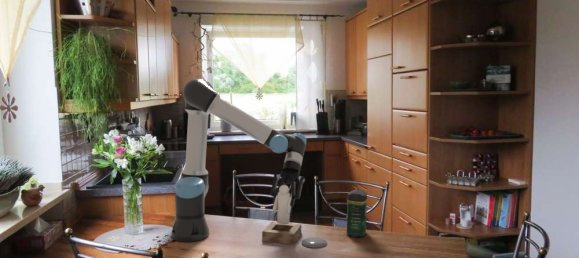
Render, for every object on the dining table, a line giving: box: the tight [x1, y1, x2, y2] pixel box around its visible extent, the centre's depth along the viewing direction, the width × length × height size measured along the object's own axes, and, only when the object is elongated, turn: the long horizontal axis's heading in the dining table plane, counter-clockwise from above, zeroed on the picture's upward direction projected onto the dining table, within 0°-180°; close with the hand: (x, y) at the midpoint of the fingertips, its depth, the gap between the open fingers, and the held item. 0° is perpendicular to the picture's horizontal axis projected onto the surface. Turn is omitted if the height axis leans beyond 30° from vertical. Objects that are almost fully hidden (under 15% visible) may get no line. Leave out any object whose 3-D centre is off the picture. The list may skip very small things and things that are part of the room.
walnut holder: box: [261, 221, 302, 245], centre depth 170 cm, size 13×13×4 cm
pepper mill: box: [276, 184, 291, 224], centre depth 169 cm, size 5×5×16 cm
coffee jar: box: [346, 188, 368, 238], centre depth 174 cm, size 10×8×19 cm
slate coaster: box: [301, 236, 328, 249], centre depth 163 cm, size 10×10×1 cm
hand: (280, 211), depth 165 cm, fingers closed on pepper mill, 5 cm apart
